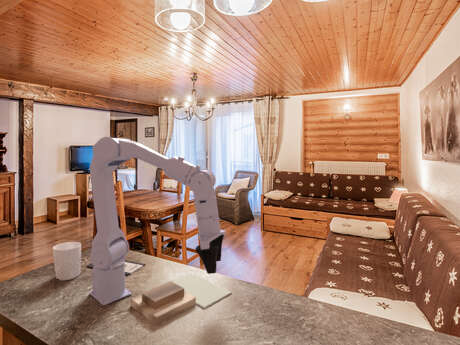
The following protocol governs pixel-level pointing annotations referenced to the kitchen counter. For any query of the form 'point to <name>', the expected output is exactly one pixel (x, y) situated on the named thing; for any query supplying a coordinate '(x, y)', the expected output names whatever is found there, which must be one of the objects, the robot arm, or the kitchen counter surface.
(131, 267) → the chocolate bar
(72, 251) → the white cup
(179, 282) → the sage mat
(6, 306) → the kitchen counter surface
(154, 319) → the block
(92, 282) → the robot arm
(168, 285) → the walnut tile
